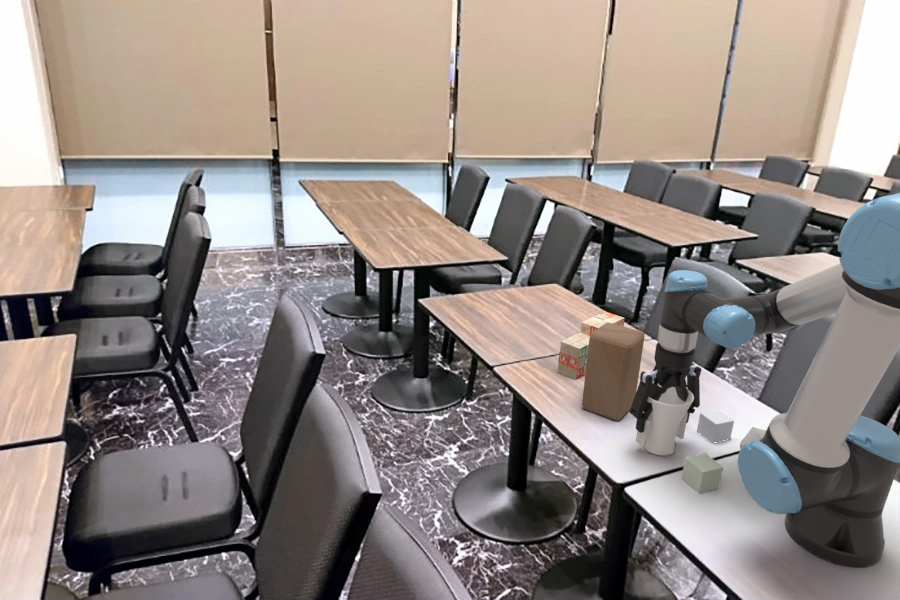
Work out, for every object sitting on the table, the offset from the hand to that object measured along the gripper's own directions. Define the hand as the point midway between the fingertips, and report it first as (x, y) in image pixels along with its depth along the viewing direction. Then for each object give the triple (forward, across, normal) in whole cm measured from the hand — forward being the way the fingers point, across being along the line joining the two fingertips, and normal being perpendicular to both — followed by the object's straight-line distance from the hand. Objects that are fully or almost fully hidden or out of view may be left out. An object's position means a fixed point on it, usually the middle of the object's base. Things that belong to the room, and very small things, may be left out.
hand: (659, 439), depth 137 cm
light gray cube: (+2, -15, 0) cm, 15 cm away
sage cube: (+2, 0, +13) cm, 13 cm away
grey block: (+2, -16, +12) cm, 20 cm away
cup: (+2, 0, 0) cm, 2 cm away
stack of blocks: (+2, -8, -40) cm, 40 cm away
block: (+2, +1, -18) cm, 18 cm away
